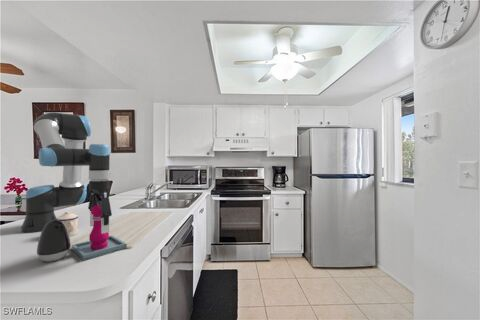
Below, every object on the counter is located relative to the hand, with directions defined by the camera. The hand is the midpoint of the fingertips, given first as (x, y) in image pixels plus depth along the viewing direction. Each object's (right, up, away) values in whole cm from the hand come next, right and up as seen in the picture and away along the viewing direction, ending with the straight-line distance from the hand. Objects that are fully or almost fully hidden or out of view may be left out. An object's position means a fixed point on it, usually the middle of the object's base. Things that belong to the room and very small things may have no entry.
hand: (99, 229), depth 97 cm
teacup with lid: (-26, -8, +17) cm, 32 cm away
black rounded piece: (-12, -9, -10) cm, 17 cm away
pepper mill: (0, -8, 0) cm, 8 cm away
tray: (0, -9, 0) cm, 9 cm away
